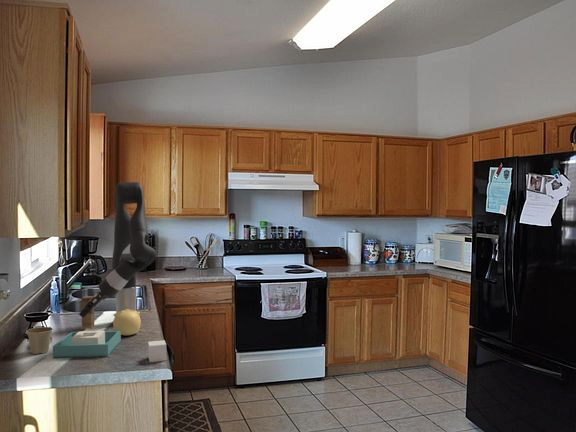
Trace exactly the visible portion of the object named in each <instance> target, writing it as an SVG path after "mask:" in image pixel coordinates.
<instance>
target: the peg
mask: <svg viewBox="0 0 576 432" xmlns="http://www.w3.org/2000/svg"><path fill="white" fill-rule="evenodd" d="M93 297H94V296H93V295H91V296H88V295H87V296H83V297H81V311H82V310H83V309H84V308H85V306H86V305H87V304H88V303H89V301H90V300H91V299H92V298H93ZM89 306H90V307H91V305H89ZM94 327H95V308H93V309H92V310H91V311H89V312H88V313H87V314H86V315H85V316H84V317H81V329H82V330H85V329H86V330H88V329H93V328H94Z"/></svg>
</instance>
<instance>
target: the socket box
mask: <svg viewBox="0 0 576 432" xmlns="http://www.w3.org/2000/svg"><path fill="white" fill-rule="evenodd" d="M121 342H122V335H121V331H115V330H110V331H108V330H107V331H106V330H87V331H82V330H81V331H73V332H71V331H70V333H68V334H67V335H66V336H64V337H63V338H61V339H60V340H59V341H58V342H56V343H55V344H54V345H52V359H66V358H67V359H71V358H72V359H73V358H99V357H100V358H101V357H109V356H110V355H111V354H112V353H113V351H114V350H116V348H117V347H118V346H119V344H120V343H121Z"/></svg>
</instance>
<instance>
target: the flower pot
mask: <svg viewBox="0 0 576 432" xmlns="http://www.w3.org/2000/svg"><path fill="white" fill-rule="evenodd" d="M53 330H54V328H53V327H50V326H40V327H34V328H29V329H27V330H26V331H25V332H26V334H27V337H28V341H29V348H30V353H31V354H34V355H39V354H46V353H47V352H49V351H50V341H51V335H52V333H53Z"/></svg>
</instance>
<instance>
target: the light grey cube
mask: <svg viewBox="0 0 576 432" xmlns="http://www.w3.org/2000/svg"><path fill="white" fill-rule="evenodd" d="M147 344H148V346H147V353H148V354H147V355H148V357H147V358H148V360H149V361H148V362H149V363H155V362H156V363H157V362H165V361H167V343H166V341H165V339H164V340H154V341H152V340H151V341H148V342H147Z"/></svg>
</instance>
